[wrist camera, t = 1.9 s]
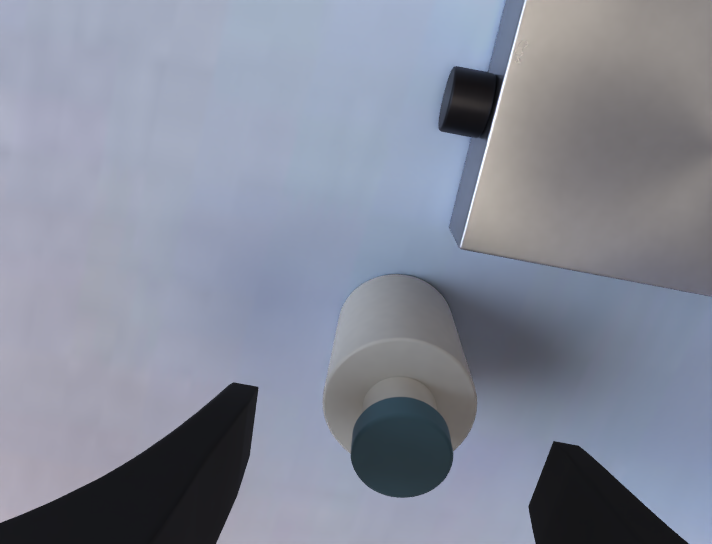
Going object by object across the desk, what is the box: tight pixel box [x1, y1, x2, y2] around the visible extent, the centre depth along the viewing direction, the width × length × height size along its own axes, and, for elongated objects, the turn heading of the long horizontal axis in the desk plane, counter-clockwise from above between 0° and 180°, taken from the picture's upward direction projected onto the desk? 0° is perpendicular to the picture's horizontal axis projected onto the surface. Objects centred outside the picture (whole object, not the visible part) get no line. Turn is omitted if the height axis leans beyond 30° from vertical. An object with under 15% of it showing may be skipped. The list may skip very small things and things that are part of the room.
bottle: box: [323, 274, 477, 498], centre depth 15 cm, size 4×4×7 cm
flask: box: [439, 0, 712, 297], centre depth 14 cm, size 13×8×2 cm, turn 80°
